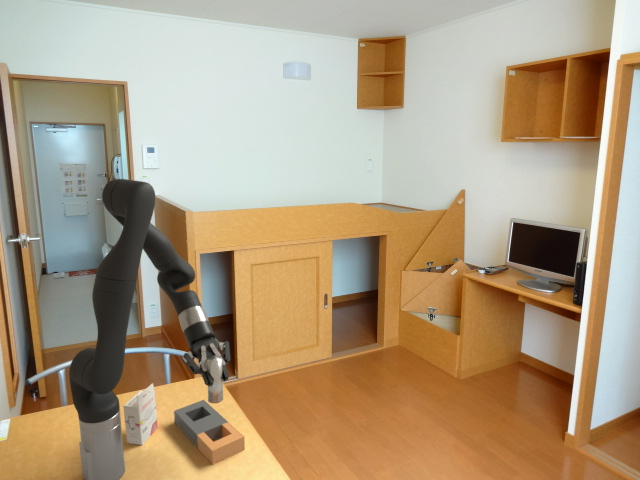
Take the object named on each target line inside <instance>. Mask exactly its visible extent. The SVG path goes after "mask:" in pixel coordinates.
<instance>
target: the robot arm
mask: <svg viewBox="0 0 640 480" xmlns="http://www.w3.org/2000/svg"><path fill="white" fill-rule="evenodd" d="M101 192H102V194H101V199H102V200H101V201H102V203H103V206H104V207H105V210H107V211H108V213H109V214H110V215H111V216H112V217H113V218H114V219H116V221H117V222H119V224H120V225H121V226H122V230H121V234H120V236H119V237H118V240H117V242H116V243H115V244H114V245H113V247H112V248H111V249H110V250H109V252H107V254H106V255H105V256H104V258H103V259H102V260H101V262H100V264H99V265H98V267H97V268H96V269H97V270H96V273H95V278H94V283H93V288H92V295H91V296H92V297H91V299H92V305H93V312H94V317H95V321H96V326H97V339H96V345H95V347H89V348H84V349H82V350H81V351H78V353H76V354H75V356H74V357H73V359H72V360H71V362H70V365H69V371H68V377H69V379H68V380H69V384H70V392H71V397H72V403H73V406H74V408H75V410H76V412H77V416H78V417H77V418H78V423H79V434H80V441H79V445H78V446H79V453H80V462H81V463H80V464H81V473H82V477H83V479H84V480H119V479H121V477H122V476H123V475H124V474H125V471H126V466H125V465H126V463H125V454H124V442H123V431H122V430H123V429H122V418H121V408H120V399H119V398H118V396H117V394H116V393H115V392H114V391H113V390H114V389H115V388H117V386H118V384H119V383H120V380H121V379H122V376H123V371H124V365H125V358H126V356H125V355H126V344H127V343H126V342H127V333H128V327H129V323H130V322H129V321H130V317H131V309H132V305H133V300H134V296H135V291H136V286H137V280H138V274H139V273H138V272H139V267H140V262H141V258H142V254H143V252H144V253H145V254H146V257H148V259H149V260H150V261H151V263H152V265H153V266H154V268H155V269H156V270H158V271H159V272H158V274H157V276H156V280H157V284H158V286H159V287H160V289H162V291H163V292H164V293H165V294H166V295H167V297H168V298H169V300H170V301H171V303H172V305H173V307H174V309H175V311H176V314H177V317H178V320H179V324H180V327H181V331H182V333H183V335H184V338H185V340H186V343H187V346H188V348H189V350H188V352H185V353H184V354H183V355H182V357H181V361H182V362H183V363H184V364H185V365H186V367H187V368H188V369H189V370H190V372H192V374H193V375H201V377H202V380H203V382H204V384H205V386H207V388H208V387H210V386H212V385H213V381H212V379H211V376H210V373H209V371H207V358H208V357H210V356H213V355H218V356H221V357H222V375H223V382H227V381H228V380H229V377H230V373H229V371H228V368H227V366H226V365H227V364H229V362H230V361H231V352H230V351H231V349H230V342H229V341H228V340H226V341H224V342H222V341H219V340H218V339H217V338H216V336H215V332H214V330H213V327H212V325H211V323H210V320H209V318H208V315H207V313H206V312H205V310H204V308H203V306H202V303H201V300H200V298H199V296H198V294H197V292H196V291H194V290H191V289H190V290H188V289H187V290H185V291H184V290H183V291H177V290H180V289H183V288H184V287H186V286H189V285H190V284H192V283H193V282H194V281H195V279H196V271H195V270H194V267H193V266H192V265H191V264H190V263H189V262H188V261H187V260H185V259H184V258H183V257H181V256H180V255H179V254H178V253H177V251H176V249H175V247H174V245H173V244H172V242H171V241H170V239H169V238H168V237H167V236H166V234H164V233H163V232H162V231H161V230H160V229H158V228H157V226H155V225H154V224H153V223H151V222H152V217H153V215H154V211H155V205H156V192H155V189H154V187H153V186H152V185H151V184H150V183H149V182H146V181H140V180H132V179H127V178H115V179H111V180H110V181H108V182H107V183H106V184H105V185H104V186H103V189H102V191H101ZM219 348H220V351H222V354H221V353H220V351H219ZM193 358H195V359H197V363H196V362H195V360H194V359H193Z"/></svg>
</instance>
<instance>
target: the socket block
mask: <svg viewBox="0 0 640 480" xmlns="http://www.w3.org/2000/svg"><path fill="white" fill-rule="evenodd" d="M173 416H174V418H173V419H174V423H175V425H176V426H177V427H178V428H179V429H180V430H181V431H182V432H183V434H184V435H186V437H187V438H188V439H189V440H190V441H191V442H192V443H193V444H194V446H195V447H197V448H198V451H200V452H201V453H202V454H203V455H204V457H206V458H207V459H208V461H209V462H210V463H211V464H212V465H215V464H218V463H219V462H221V461H224V460H226V459H227V458H229V457H231V456H234V455H236V454H238V453H240V452H243V451H244V450H245V449H246V448H245V447H246V445H245V442H246V441H245V435H243V434H242V433H241V431H239V430H238V429H237V428H236V427H234V426H233V425H232V423H230V422H229V421H228V420H227V419H226V418H224V416H223V415H221V414H220V413H219V412H218V411H217V410H216V409H215V408H214V407H213V406H211V405H210V404H209V402H207V401H206V400H205V399H202V400H199V401H196V402H194V403H191V404H189V405H186V406H183V407H181V408H178V409H176V410H173Z"/></svg>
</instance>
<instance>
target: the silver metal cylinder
mask: <svg viewBox="0 0 640 480" xmlns="http://www.w3.org/2000/svg"><path fill="white" fill-rule="evenodd" d="M222 358H223V356H222V355H221V356H218V355H213V356H210V357H208V358H207V363H206V364H207V371H209V373H210V376H211V379H212V381H213V385H212V386H210V387H208V386H207V401H208V403H210V404H219V403H221V402H222V401H223V402H224V384H223V382H224V381H223V375H222Z"/></svg>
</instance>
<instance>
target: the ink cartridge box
mask: <svg viewBox="0 0 640 480" xmlns="http://www.w3.org/2000/svg"><path fill="white" fill-rule="evenodd" d="M156 402H157V401H156V393H155V387H154V383H150V385H148V387H146V388H145V389H144V390H139V391H138V392H137V393H136V394H135V395H133V396H132V397H131V398H130V399H129V400H128V401H127V402H125V403H124V404H123V416H124V417H123V418H124V425H125V434H126V443H127V444H130V445H141V446H142V445H144V443H145V442H146V441H147V440H148V439H149V438H150V437H151V436H152V434H153V433H154V432H155V431H156V430H157V429H158V416H157V414H158V413H157V403H156Z"/></svg>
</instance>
